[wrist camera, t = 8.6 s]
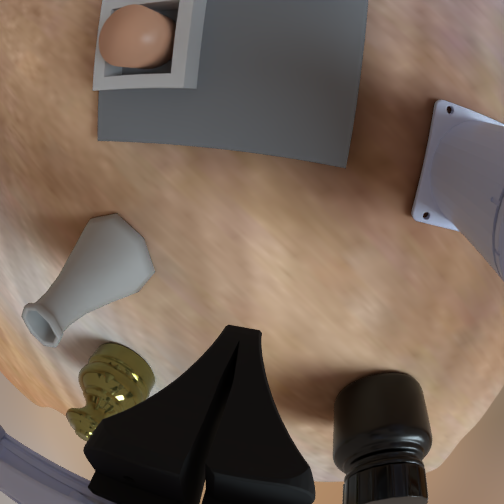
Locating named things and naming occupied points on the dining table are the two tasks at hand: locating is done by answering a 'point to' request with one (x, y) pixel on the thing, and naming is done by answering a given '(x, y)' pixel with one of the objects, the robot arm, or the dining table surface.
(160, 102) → the button panel
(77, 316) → the flask
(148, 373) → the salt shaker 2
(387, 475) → the ink bottle
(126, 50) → the terracotta button
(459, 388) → the dining table surface
